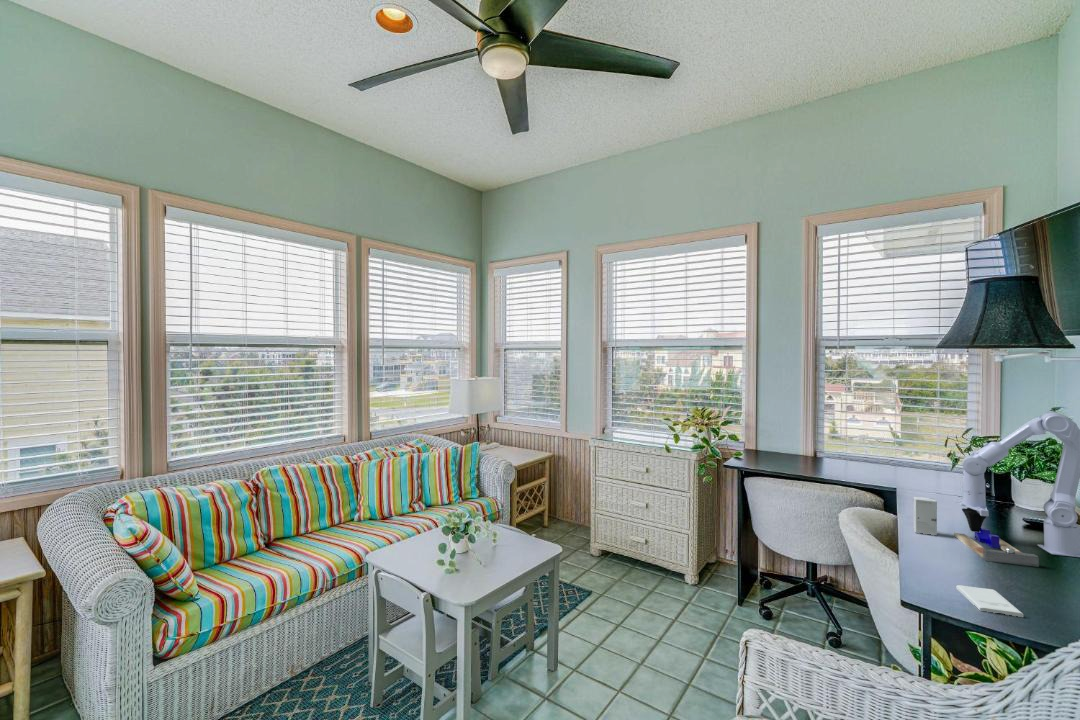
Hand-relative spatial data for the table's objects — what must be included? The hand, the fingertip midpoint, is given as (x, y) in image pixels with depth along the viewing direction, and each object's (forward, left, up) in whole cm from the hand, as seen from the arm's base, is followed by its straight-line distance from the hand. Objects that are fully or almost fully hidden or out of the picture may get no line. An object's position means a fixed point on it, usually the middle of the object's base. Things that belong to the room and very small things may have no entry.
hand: (974, 531), depth 162 cm
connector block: (0, +22, -2) cm, 22 cm away
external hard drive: (+18, +54, -3) cm, 57 cm away
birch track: (0, +11, -2) cm, 12 cm away
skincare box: (+14, 0, -2) cm, 14 cm away
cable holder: (-1, +5, -3) cm, 6 cm away
